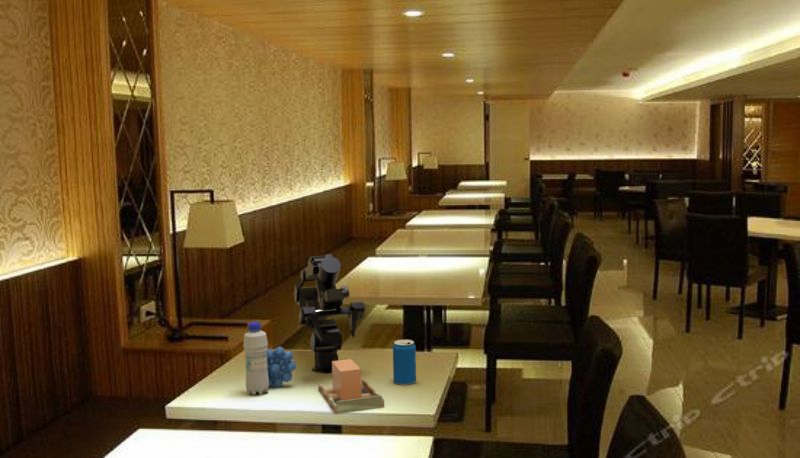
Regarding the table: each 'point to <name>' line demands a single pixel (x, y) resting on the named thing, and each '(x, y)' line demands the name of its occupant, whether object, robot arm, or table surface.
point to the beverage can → (404, 362)
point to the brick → (346, 379)
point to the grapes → (279, 366)
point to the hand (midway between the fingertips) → (337, 338)
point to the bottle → (256, 359)
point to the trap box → (367, 400)
